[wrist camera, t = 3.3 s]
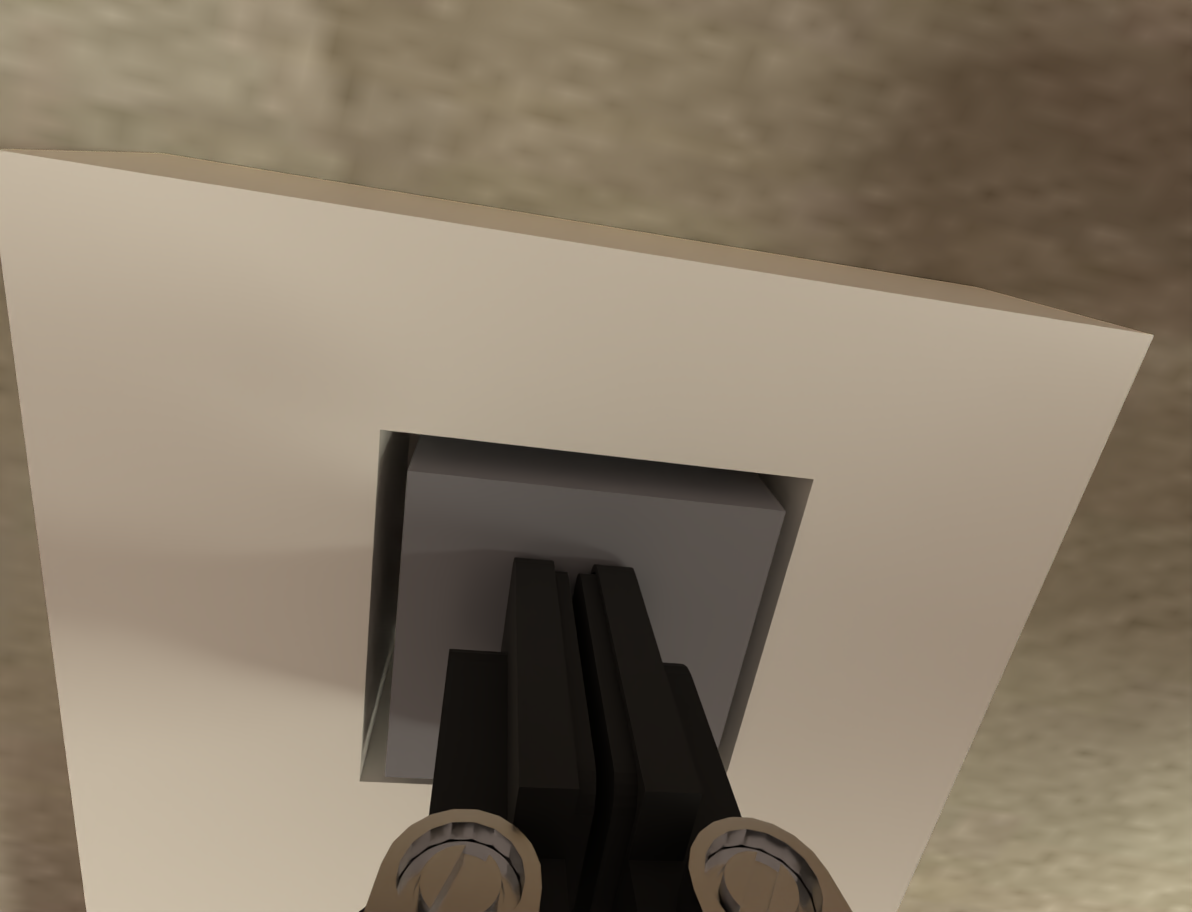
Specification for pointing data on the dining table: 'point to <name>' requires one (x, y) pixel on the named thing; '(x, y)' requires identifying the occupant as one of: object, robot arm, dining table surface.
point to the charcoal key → (570, 563)
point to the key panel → (509, 416)
